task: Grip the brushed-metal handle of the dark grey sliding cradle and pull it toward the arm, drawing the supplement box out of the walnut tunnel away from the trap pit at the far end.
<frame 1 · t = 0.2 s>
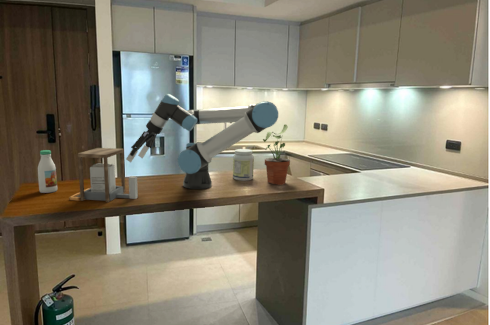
hand: (134, 158, 176), 16 cm above the table, tool tilted 35°, fingers open, 13 cm apart
supplement box: (104, 196, 167), resting in cradle
milk bottle: (48, 191, 173), on the table
cradle: (113, 186, 165), point 5 cm above the table, slide at 0.0 cm
tunnel: (104, 196, 167), on the table
potted plant: (274, 182, 202), on the table
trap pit: (84, 195, 168), on the table
supplement tub: (243, 178, 209), on the table
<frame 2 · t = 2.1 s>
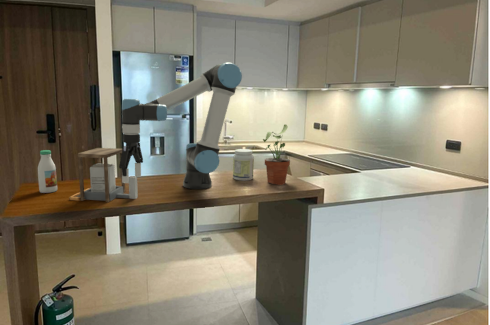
hand: (132, 179, 164), 9 cm above the table, tool pointing down, fingers open, 13 cm apart
nothing on the table moved.
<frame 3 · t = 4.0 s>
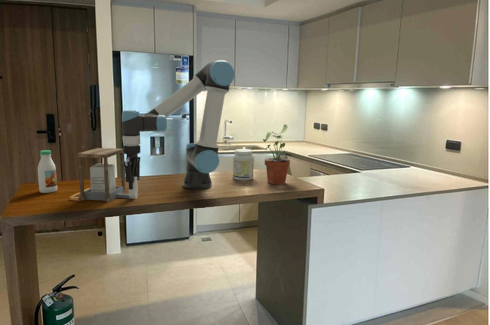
hand: (133, 194, 165), 2 cm above the table, tool pointing down, fingers closed on cradle, 2 cm apart
cradle: (113, 186, 165), point 5 cm above the table, slide at 0.0 cm, touching gripper
everything else where it was.
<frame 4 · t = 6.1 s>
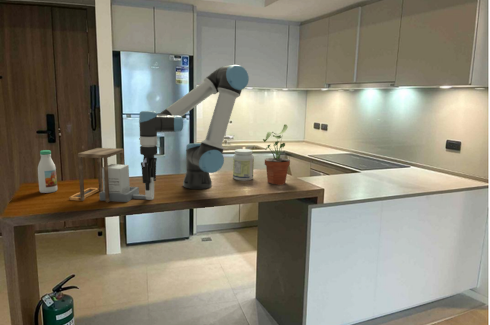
hand: (149, 195, 164), 2 cm above the table, tool pointing down, fingers closed on cradle, 2 cm apart
supplement box: (117, 197, 165), resting in cradle
cradle: (129, 187, 165), point 5 cm above the table, slide at 7.9 cm, touching gripper
everything else where it was.
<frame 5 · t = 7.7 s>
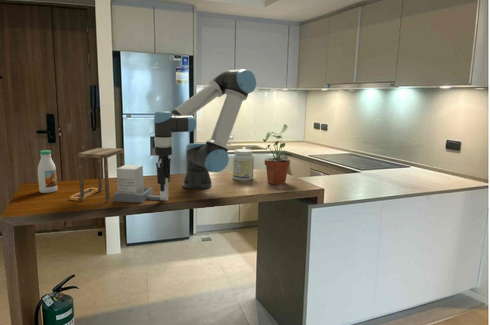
hand: (164, 196, 164), 2 cm above the table, tool pointing down, fingers closed on cradle, 2 cm apart
supplement box: (131, 198, 165), resting in cradle
cradle: (143, 188, 164), point 5 cm above the table, slide at 14.8 cm, touching gripper, supplement box
everything else where it was.
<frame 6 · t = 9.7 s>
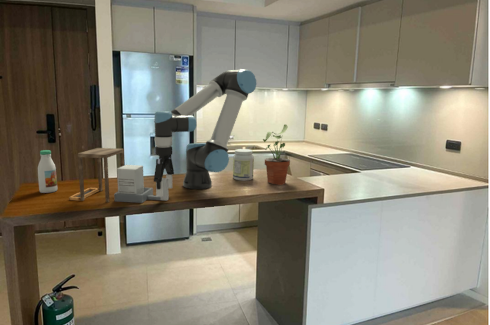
hand: (164, 191, 163), 4 cm above the table, tool pointing down, fingers open, 13 cm apart
cradle: (143, 188, 164), point 5 cm above the table, slide at 14.9 cm, touching supplement box
everything else where it was.
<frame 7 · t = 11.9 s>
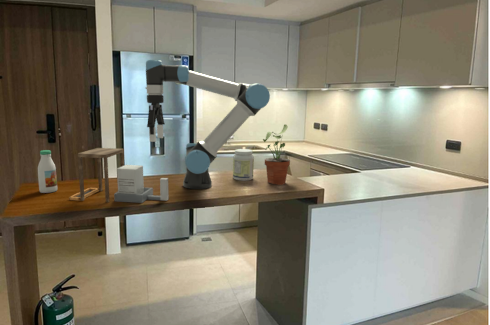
hand: (156, 139, 170), 26 cm above the table, tool pointing down, fingers open, 13 cm apart
nothing on the table moved.
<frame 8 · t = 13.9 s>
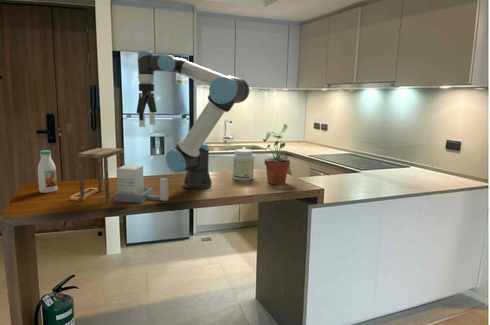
hand: (147, 125, 182), 32 cm above the table, tool pointing down, fingers open, 13 cm apart
nothing on the table moved.
at the end: cradle slide at 14.9 cm; supplement box inside the target area (2.3 cm from its centre), resting in cradle; supplement box tilted 0° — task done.
